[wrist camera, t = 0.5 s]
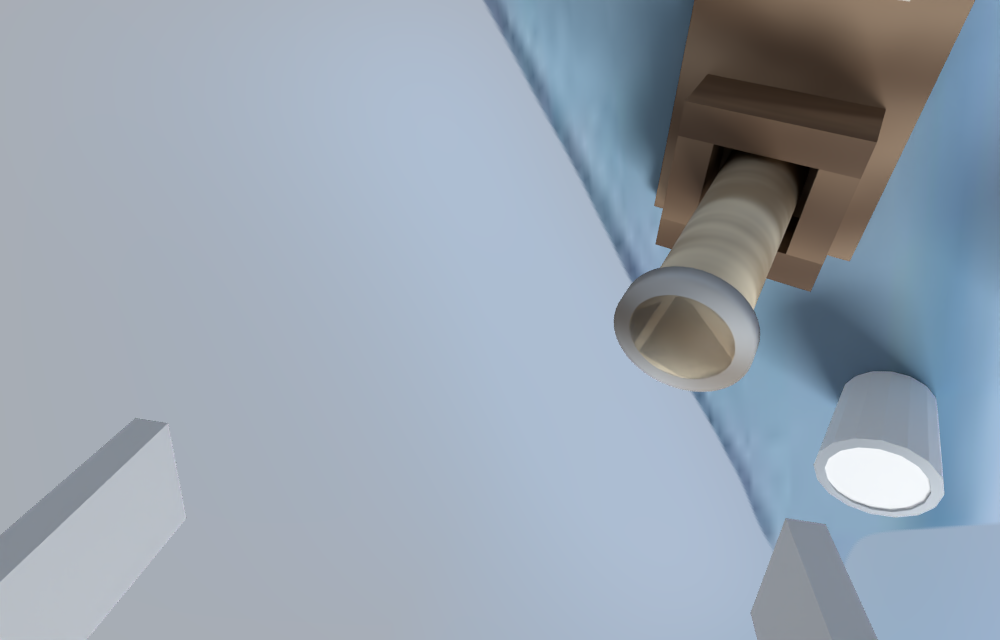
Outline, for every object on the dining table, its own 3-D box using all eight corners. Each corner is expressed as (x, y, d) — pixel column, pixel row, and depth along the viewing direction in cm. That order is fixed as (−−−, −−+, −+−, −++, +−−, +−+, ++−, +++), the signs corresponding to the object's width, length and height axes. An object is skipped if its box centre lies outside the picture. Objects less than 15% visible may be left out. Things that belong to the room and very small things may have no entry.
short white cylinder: (964, 435, 41) (961, 521, 37) (851, 441, 46) (837, 517, 42) (929, 356, 39) (921, 436, 35) (815, 371, 44) (795, 442, 39)
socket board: (754, -278, 26) (721, -279, 23) (1106, -281, 22) (1126, -283, 18) (659, 198, 42) (632, 236, 39) (851, 252, 37) (839, 300, 34)
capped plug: (729, 108, 35) (623, 261, 25) (839, 131, 33) (773, 310, 23) (706, 197, 39) (606, 361, 29) (803, 223, 37) (732, 410, 27)
